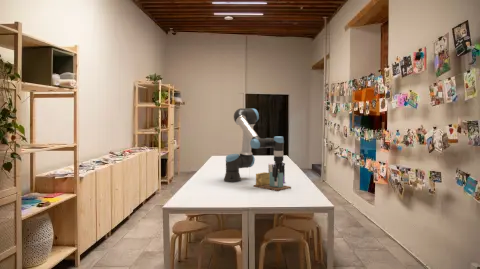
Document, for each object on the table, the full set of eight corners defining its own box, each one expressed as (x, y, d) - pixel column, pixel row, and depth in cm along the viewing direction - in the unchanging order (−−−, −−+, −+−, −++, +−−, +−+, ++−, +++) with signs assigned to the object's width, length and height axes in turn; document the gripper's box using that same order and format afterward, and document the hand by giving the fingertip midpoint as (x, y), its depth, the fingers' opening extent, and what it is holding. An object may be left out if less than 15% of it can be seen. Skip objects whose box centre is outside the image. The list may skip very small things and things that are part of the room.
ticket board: (253, 186, 294) (253, 173, 293) (266, 183, 305) (266, 171, 304) (278, 191, 275) (278, 177, 275) (291, 188, 287) (291, 175, 286)
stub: (269, 185, 289) (269, 171, 288) (273, 184, 292) (273, 171, 291) (279, 187, 281) (279, 173, 281) (283, 186, 285) (283, 172, 284)
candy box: (284, 182, 312) (284, 163, 311) (284, 183, 306) (284, 164, 305) (268, 181, 313) (268, 163, 313) (268, 183, 308) (268, 164, 307)
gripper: (275, 157, 275) (274, 187, 276) (289, 155, 288) (289, 184, 289) (267, 156, 280) (267, 186, 281) (282, 154, 293) (281, 182, 294)
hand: (278, 185), depth 285 cm, fingers closed on stub, 5 cm apart
